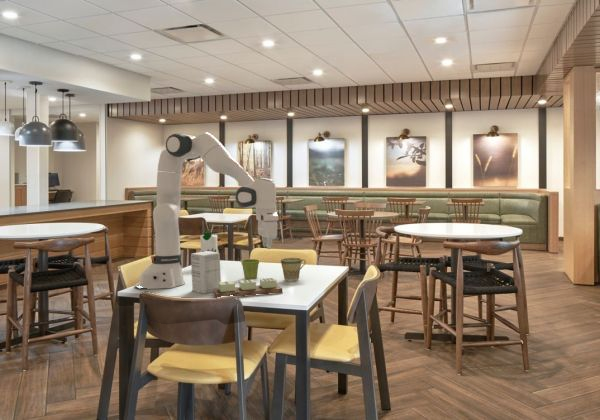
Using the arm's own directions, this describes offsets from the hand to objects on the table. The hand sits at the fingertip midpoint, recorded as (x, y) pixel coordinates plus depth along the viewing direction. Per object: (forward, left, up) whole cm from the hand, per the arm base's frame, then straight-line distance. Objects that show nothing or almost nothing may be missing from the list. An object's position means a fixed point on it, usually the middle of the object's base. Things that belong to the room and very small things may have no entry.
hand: (267, 247), depth 216 cm
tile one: (-18, 0, -17) cm, 25 cm away
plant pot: (-1, +32, -19) cm, 38 cm away
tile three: (0, 0, -17) cm, 17 cm away
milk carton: (-16, +72, -19) cm, 77 cm away
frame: (-9, 0, -19) cm, 21 cm away
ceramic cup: (+18, +20, -19) cm, 33 cm away
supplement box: (-25, +12, -19) cm, 34 cm away
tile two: (-9, 0, -17) cm, 19 cm away
